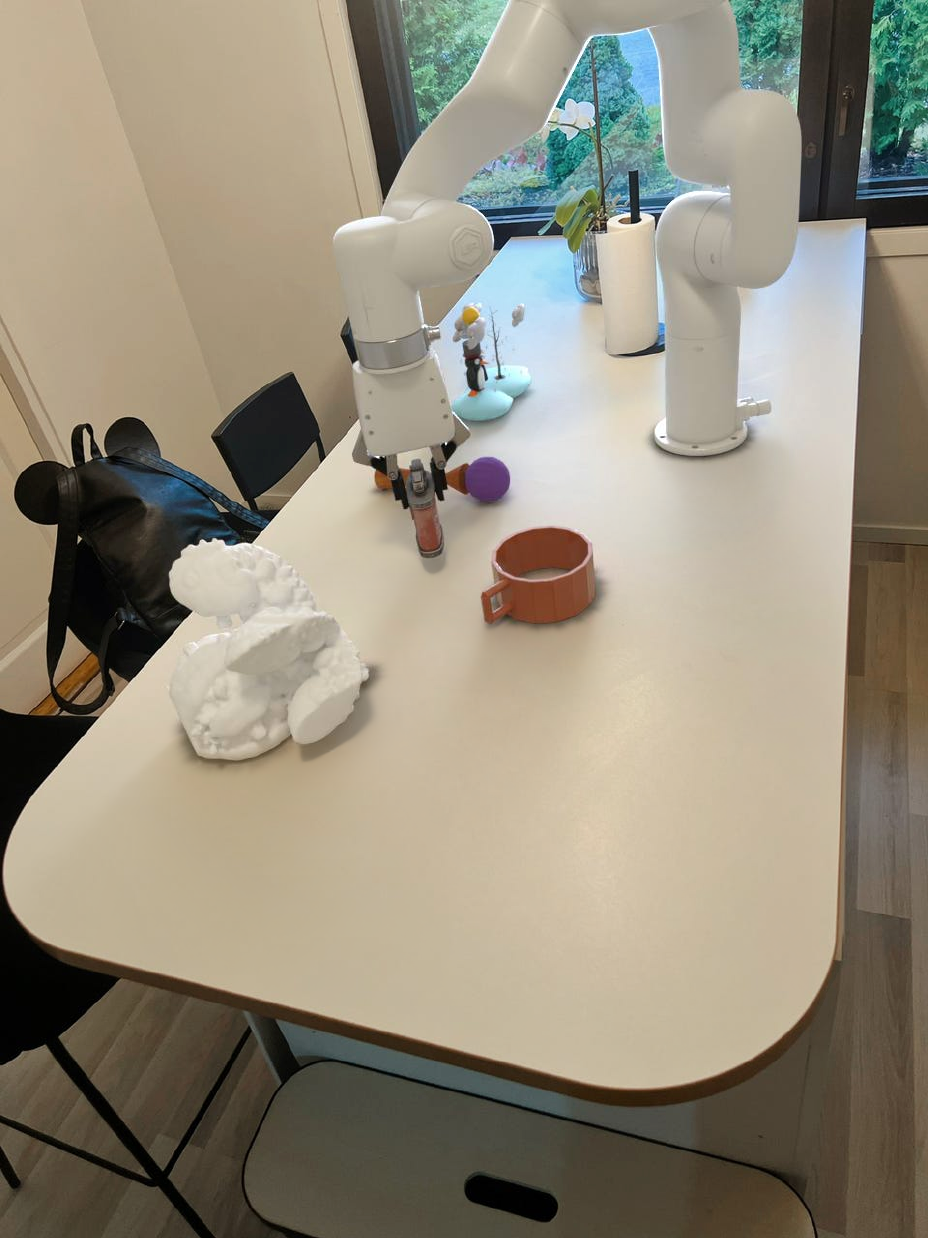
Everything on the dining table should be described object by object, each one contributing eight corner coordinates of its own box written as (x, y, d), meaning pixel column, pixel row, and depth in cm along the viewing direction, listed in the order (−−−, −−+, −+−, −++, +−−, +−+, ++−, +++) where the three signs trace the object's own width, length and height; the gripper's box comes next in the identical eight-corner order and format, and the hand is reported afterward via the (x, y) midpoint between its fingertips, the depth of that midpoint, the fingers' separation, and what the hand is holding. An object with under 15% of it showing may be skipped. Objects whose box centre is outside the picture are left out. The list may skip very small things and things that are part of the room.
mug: (546, 555, 104) (541, 515, 101) (615, 587, 97) (613, 546, 94) (455, 613, 98) (447, 572, 95) (522, 652, 91) (516, 610, 87)
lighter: (415, 526, 109) (400, 453, 103) (442, 521, 109) (428, 448, 103) (418, 560, 102) (402, 485, 96) (446, 556, 102) (432, 480, 96)
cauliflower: (86, 662, 85) (216, 505, 84) (237, 730, 99) (348, 597, 99) (140, 782, 72) (294, 597, 71) (305, 840, 86) (434, 687, 86)
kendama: (388, 450, 125) (514, 451, 115) (395, 490, 127) (519, 494, 118) (365, 462, 120) (495, 464, 111) (373, 504, 123) (500, 509, 113)
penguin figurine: (500, 427, 134) (487, 330, 125) (438, 424, 139) (421, 330, 130) (543, 375, 148) (534, 284, 139) (486, 374, 153) (474, 286, 144)
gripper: (462, 320, 95) (484, 470, 106) (312, 351, 94) (350, 500, 105) (475, 342, 89) (497, 499, 100) (316, 375, 88) (355, 531, 99)
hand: (422, 498), depth 102 cm, fingers closed on lighter, 3 cm apart
